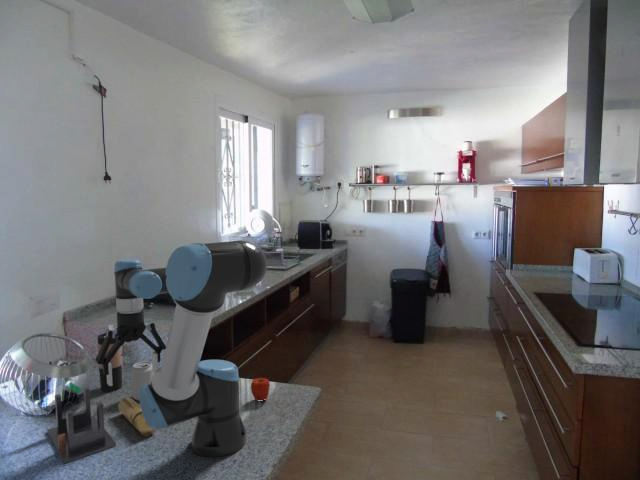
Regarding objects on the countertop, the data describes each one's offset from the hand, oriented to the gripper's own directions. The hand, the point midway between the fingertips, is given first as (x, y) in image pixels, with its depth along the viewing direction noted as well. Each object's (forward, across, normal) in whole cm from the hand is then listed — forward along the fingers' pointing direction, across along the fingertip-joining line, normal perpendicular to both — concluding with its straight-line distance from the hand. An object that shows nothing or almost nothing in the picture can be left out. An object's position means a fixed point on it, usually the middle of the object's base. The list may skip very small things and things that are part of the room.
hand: (133, 378), depth 139 cm
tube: (+14, 0, 0) cm, 14 cm away
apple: (+14, -38, +12) cm, 43 cm away
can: (+15, -9, -18) cm, 25 cm away
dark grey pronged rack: (+14, +15, -2) cm, 21 cm away
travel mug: (+15, -3, -34) cm, 37 cm away
